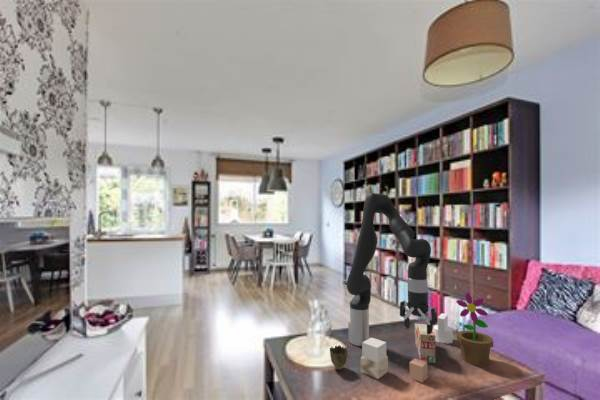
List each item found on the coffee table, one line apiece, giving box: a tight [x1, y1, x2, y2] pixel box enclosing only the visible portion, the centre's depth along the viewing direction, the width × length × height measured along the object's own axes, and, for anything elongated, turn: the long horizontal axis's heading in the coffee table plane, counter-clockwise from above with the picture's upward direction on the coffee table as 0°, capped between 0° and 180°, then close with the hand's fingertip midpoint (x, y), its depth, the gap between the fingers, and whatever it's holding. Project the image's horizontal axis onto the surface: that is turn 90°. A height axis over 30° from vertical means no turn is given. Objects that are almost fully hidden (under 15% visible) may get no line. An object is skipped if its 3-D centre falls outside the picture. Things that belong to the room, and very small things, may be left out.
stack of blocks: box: [414, 323, 437, 364], centre depth 147 cm, size 21×6×12 cm, turn 167°
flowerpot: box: [455, 292, 494, 367], centre depth 139 cm, size 14×14×30 cm
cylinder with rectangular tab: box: [432, 313, 454, 345], centre depth 161 cm, size 9×9×12 cm
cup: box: [329, 345, 348, 371], centre depth 132 cm, size 8×7×8 cm
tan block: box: [408, 357, 428, 383], centre depth 125 cm, size 5×5×6 cm
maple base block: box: [359, 355, 389, 380], centre depth 129 cm, size 8×8×6 cm
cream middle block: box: [361, 337, 387, 363], centre depth 129 cm, size 7×7×6 cm
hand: (418, 330), depth 125 cm, fingers open, 8 cm apart
